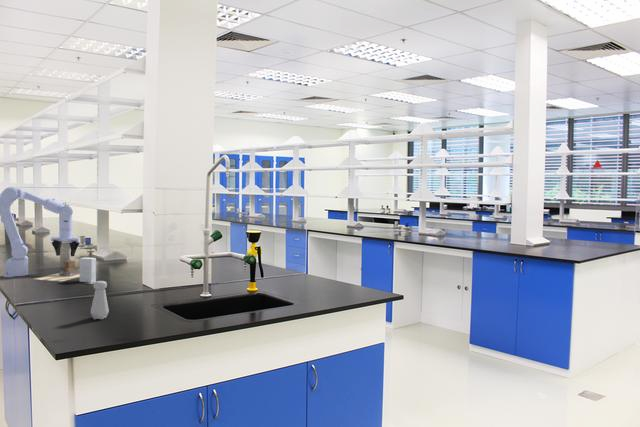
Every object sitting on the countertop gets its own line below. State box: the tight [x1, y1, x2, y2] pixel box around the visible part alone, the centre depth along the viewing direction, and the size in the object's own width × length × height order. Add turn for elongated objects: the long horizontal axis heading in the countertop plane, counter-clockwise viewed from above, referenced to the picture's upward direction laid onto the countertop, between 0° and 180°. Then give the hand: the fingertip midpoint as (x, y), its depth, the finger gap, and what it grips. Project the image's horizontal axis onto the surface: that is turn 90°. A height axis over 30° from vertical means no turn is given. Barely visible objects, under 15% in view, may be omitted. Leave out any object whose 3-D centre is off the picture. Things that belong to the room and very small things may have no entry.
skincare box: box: [78, 257, 97, 285], centre depth 236 cm, size 6×4×12 cm
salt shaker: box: [90, 280, 110, 320], centre depth 174 cm, size 6×6×13 cm
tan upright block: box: [62, 260, 76, 272], centre depth 249 cm, size 3×4×7 cm, turn 169°
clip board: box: [33, 268, 80, 282], centre depth 245 cm, size 16×22×3 cm
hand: (65, 255), depth 254 cm, fingers open, 7 cm apart
